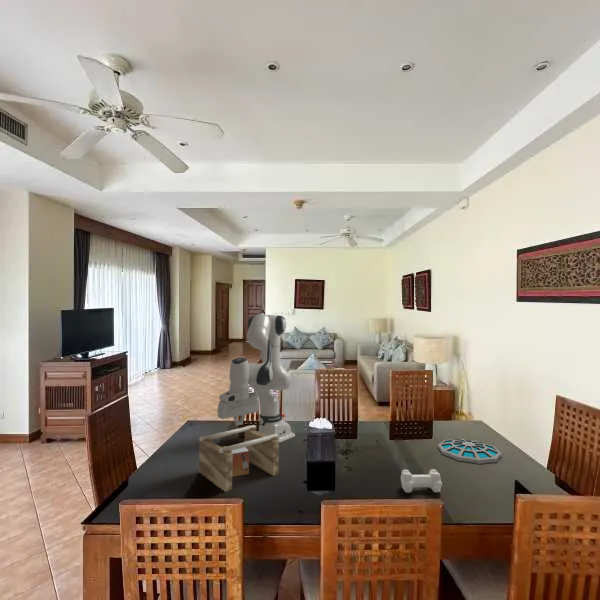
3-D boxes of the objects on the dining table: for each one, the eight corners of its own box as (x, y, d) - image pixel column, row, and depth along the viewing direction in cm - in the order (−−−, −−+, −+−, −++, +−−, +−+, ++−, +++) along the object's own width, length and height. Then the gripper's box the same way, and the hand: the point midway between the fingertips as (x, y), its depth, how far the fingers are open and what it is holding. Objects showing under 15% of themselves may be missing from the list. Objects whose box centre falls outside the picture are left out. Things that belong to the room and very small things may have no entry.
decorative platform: (459, 466, 182) (459, 456, 182) (427, 445, 211) (427, 436, 211) (515, 461, 189) (515, 451, 189) (476, 441, 217) (476, 432, 217)
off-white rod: (276, 437, 178) (276, 433, 178) (278, 438, 176) (278, 434, 176) (217, 453, 158) (217, 448, 158) (220, 454, 157) (220, 449, 157)
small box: (232, 477, 169) (232, 453, 170) (228, 472, 174) (228, 449, 175) (249, 474, 173) (249, 450, 173) (245, 469, 178) (245, 446, 178)
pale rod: (254, 428, 191) (254, 424, 191) (256, 429, 190) (256, 425, 190) (198, 441, 172) (198, 437, 172) (200, 442, 171) (200, 438, 171)
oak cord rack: (249, 458, 192) (249, 424, 192) (278, 473, 173) (278, 437, 174) (199, 472, 174) (199, 436, 175) (225, 492, 156) (225, 451, 156)
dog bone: (435, 487, 162) (434, 467, 163) (443, 495, 153) (442, 473, 154) (400, 487, 162) (399, 467, 163) (406, 495, 153) (405, 474, 154)
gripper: (254, 390, 184) (254, 419, 183) (215, 396, 171) (215, 427, 170) (262, 392, 179) (261, 422, 179) (222, 398, 166) (222, 431, 165)
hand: (239, 425), depth 174 cm, fingers closed
